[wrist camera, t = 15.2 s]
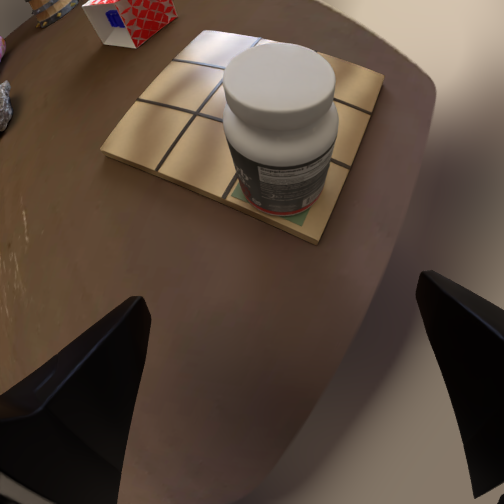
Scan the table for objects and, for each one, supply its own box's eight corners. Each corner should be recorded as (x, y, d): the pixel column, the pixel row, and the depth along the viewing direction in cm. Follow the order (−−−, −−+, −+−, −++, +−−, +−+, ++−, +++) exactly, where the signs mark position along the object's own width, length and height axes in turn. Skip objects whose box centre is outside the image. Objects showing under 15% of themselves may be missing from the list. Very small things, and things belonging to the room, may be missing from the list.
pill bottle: (236, 152, 21) (208, 44, 11) (313, 142, 21) (326, 32, 11) (245, 225, 19) (212, 132, 10) (331, 213, 19) (368, 115, 10)
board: (382, 84, 23) (385, 74, 22) (316, 246, 20) (319, 240, 19) (206, 37, 27) (203, 29, 26) (105, 156, 24) (98, 148, 23)
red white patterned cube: (177, 16, 29) (162, -28, 22) (136, 48, 28) (113, 3, 21) (141, 14, 31) (125, -24, 24) (103, 44, 30) (81, 6, 22)
